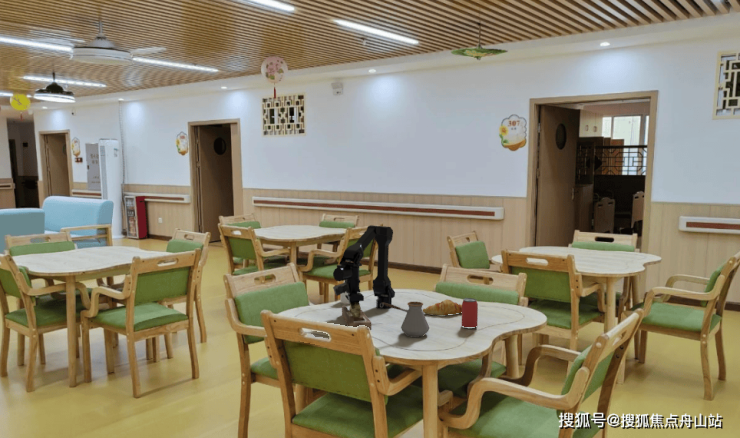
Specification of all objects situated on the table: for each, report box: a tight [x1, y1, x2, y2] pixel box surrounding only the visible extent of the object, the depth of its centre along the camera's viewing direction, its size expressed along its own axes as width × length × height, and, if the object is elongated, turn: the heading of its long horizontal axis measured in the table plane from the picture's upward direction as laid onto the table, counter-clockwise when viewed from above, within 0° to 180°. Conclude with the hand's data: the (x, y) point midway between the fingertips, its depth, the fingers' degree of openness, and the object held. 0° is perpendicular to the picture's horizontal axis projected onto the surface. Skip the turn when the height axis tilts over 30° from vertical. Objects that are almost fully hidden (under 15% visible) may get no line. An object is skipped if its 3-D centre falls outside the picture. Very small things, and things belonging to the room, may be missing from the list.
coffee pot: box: [380, 301, 430, 338], centre depth 224 cm, size 21×12×15 cm, turn 115°
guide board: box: [341, 305, 372, 330], centre depth 243 cm, size 9×20×6 cm, turn 13°
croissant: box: [422, 298, 462, 316], centre depth 258 cm, size 21×10×8 cm, turn 98°
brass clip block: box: [348, 301, 362, 318], centre depth 241 cm, size 4×4×5 cm
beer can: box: [461, 297, 479, 327], centre depth 236 cm, size 7×7×12 cm
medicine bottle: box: [339, 280, 360, 305], centre depth 275 cm, size 7×7×12 cm
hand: (352, 312), depth 245 cm, fingers closed
